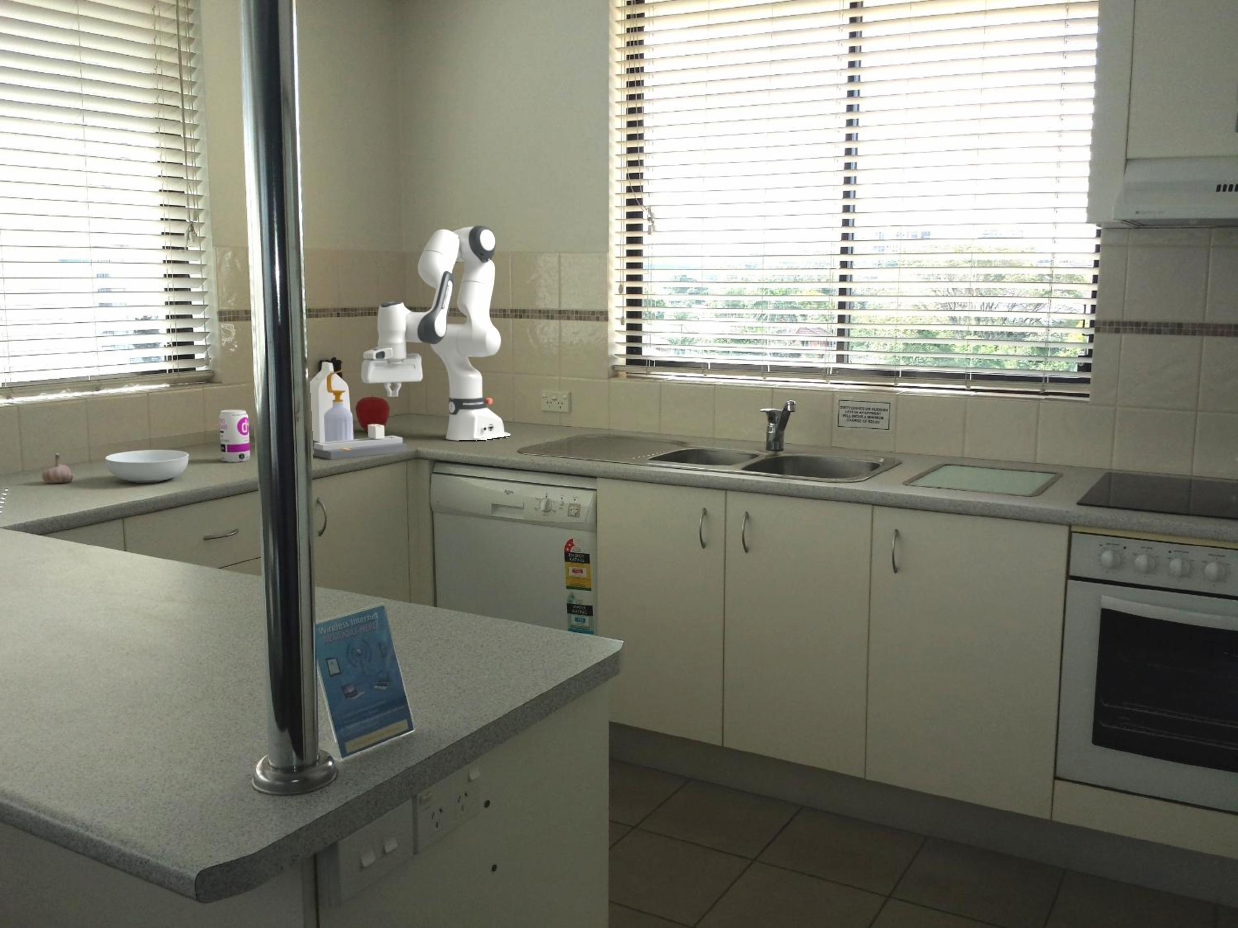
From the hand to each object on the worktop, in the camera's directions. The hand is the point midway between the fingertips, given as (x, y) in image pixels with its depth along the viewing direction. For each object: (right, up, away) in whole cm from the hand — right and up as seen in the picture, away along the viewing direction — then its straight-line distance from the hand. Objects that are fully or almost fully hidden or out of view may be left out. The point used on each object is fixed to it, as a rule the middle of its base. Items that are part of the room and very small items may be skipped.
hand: (392, 396), depth 360 cm
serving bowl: (-55, -26, -54) cm, 82 cm away
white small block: (-5, -15, -2) cm, 16 cm away
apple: (-16, -10, +44) cm, 48 cm away
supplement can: (-43, -21, -21) cm, 52 cm away
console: (-9, -18, -5) cm, 21 cm away
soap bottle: (-20, -15, +12) cm, 28 cm away
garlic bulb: (-77, -27, -59) cm, 101 cm away
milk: (-27, -13, +26) cm, 39 cm away
